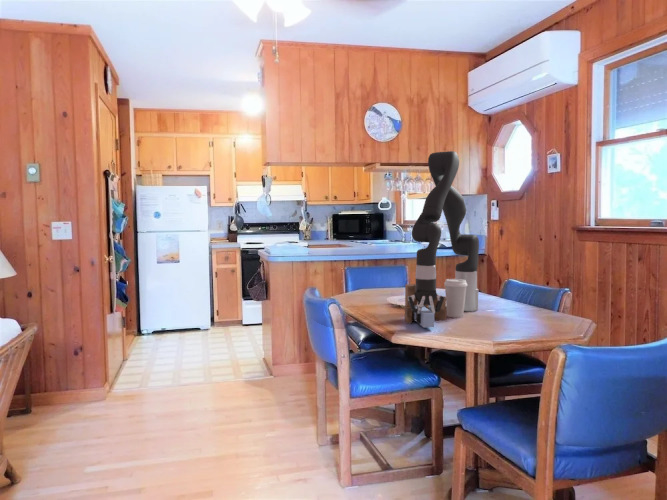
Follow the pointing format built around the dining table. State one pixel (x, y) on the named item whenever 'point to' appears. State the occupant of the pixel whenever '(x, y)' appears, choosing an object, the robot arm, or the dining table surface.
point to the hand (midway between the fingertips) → (425, 322)
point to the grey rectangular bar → (425, 317)
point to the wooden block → (409, 313)
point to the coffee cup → (455, 297)
